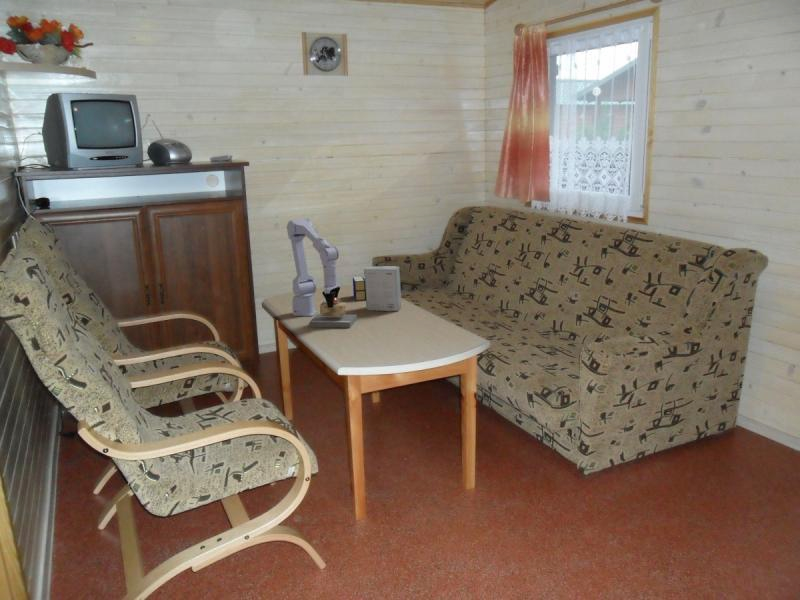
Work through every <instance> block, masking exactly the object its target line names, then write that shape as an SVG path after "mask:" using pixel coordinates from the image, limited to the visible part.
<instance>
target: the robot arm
mask: <svg viewBox="0 0 800 600" xmlns="http://www.w3.org/2000/svg"><path fill="white" fill-rule="evenodd" d="M286 230H287V231H286V232H287V235H288V239H289V240H290V243H291V248H292V254H293V260H294V265H295V270H296V276H295V277H294V278H293V279H292V292H293V294H294V295H293V296H292V302H291V303H292V317H293V316H295V317H297V316H298V317H302V316H303V317H306V316H307V317H312V316H314V315H315V314H316V313H317V310H315V305H314V304H315V303H314V295H315V293H316V291H317V284H316V281H315V279H314V276H312V275H311V274H310V273H309V270H308V264H307V260H306V254H305V247H304V242H303V240H304V238H305V237H307V238H308V240H310V241H311V242H312V246H313V248H314V249H315V250H316V251H317V253H318V254H319V258H320V260H321V265H322V269H323V283H324V284H323V288H324V291H322V292H321V293H322V296H323V298H324V299H325V302H327V306H328V308H333V304H334V297H336V298H337V299H338V298H339V293H340V290H341V284H338V269H337V267H338V266H337V260H338V259H339V257H340V254H339V250H338V248H337V247H336V246H332V245H330V244H329V243H328V241H327V240H326V239H325V238H324V237H322V236H319V235H318V234H317V232H316V230H314V229H313V222H312V221H311V220H310V218H303V219H296V220H295V219H294V220H288V222H287V225H286Z"/></svg>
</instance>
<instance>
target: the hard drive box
mask: <svg viewBox="0 0 800 600" xmlns="http://www.w3.org/2000/svg"><path fill="white" fill-rule="evenodd" d="M363 270H364V274H363V275H364V276H365V291H366V299H365V304H366V305H365V306H366V311H374V310H376V311H378V310H379V311H383V312H384V311H385V312H397V311H399V310H400V309H401V308H402V292H401V290H402V289H401V275H400V273H401V272H400V271H401V270H400V266H395V265H394V266H392V265H391V266H389V265H388V266H387V265H386V266H383V265H381V266H379V265H378V266H375V265H373V266H372V265H369V266H368V267H366V268H365V269H363ZM379 311H378V312H379Z"/></svg>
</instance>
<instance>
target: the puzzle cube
mask: <svg viewBox="0 0 800 600" xmlns="http://www.w3.org/2000/svg"><path fill="white" fill-rule="evenodd" d="M352 290H353V297H355V298H354V299H355V301H356V300H358V301H366V291H365V275H364V276H355V277H352Z"/></svg>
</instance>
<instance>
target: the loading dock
mask: <svg viewBox="0 0 800 600" xmlns="http://www.w3.org/2000/svg"><path fill="white" fill-rule="evenodd" d="M356 321H357V314H345V315H343V317H330V316H320V314H319V313H317V314H316V315H315V316H314V317H313V318H311V320H310V321H309V328H321V327H348V328H347V329H350V328H349V327H351V328H352V326H353V325H354V324H355V323H356ZM354 322H355V323H354ZM353 323H354V324H353Z"/></svg>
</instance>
